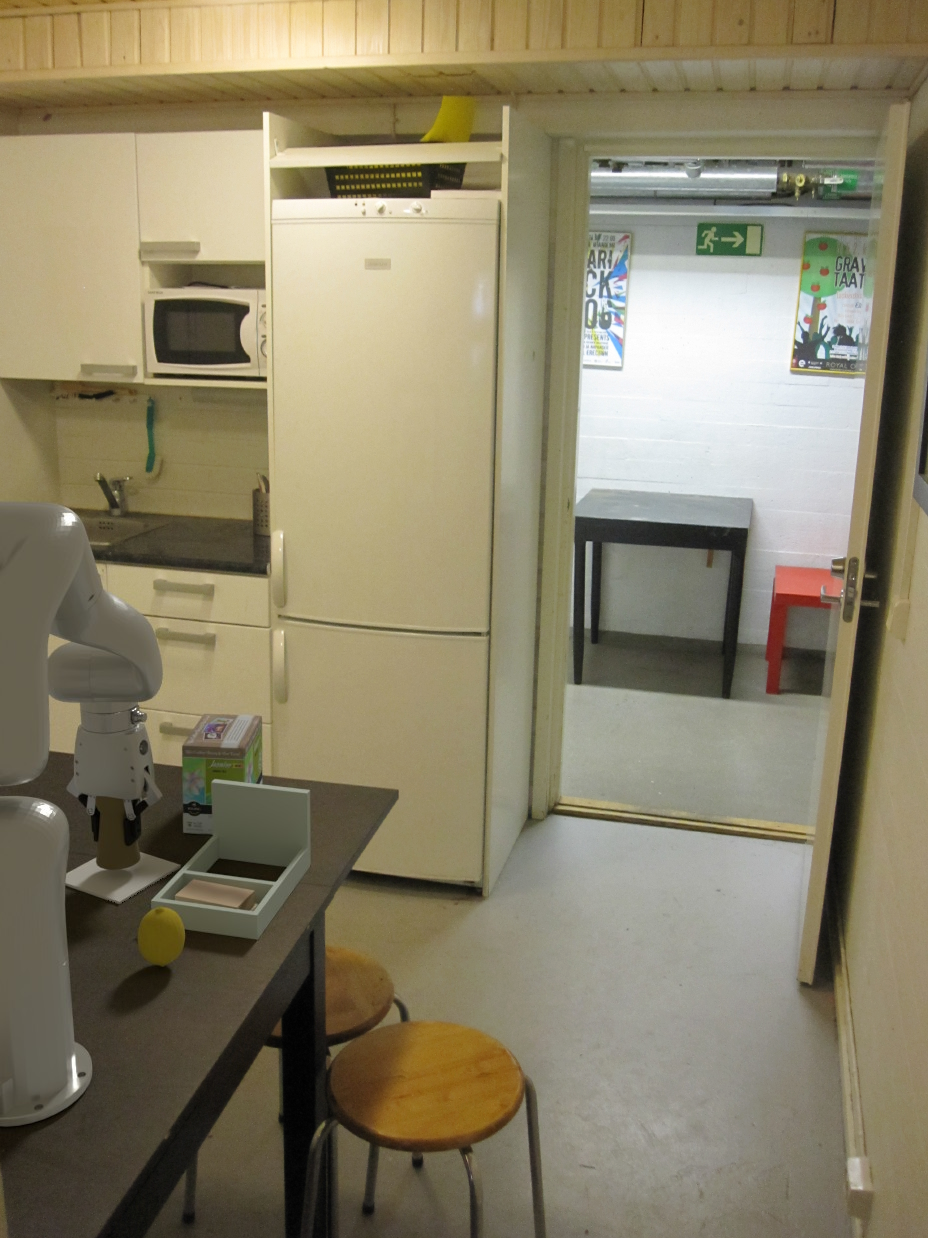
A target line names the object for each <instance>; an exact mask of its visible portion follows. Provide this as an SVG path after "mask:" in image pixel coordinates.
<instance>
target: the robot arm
mask: <svg viewBox="0 0 928 1238" xmlns="http://www.w3.org/2000/svg"><path fill="white" fill-rule="evenodd" d="M95 560H96V559H95V556H94V553H93V550H92V546H91V544H90V540H89V536H88V534H87V530H86V528H85V525H84V523H83V521H82V519H81V518H80V516H79V515H78V514H77V513H76V512H74V511H73V510H72V509H70V507H66V506H64V505H61V504H59V503H56V502H55V503H53V502H44V501H6V500H5V501H3V500H2V501H1V500H0V787H4V786H5V787H8V786H9V787H10V786H18V785H22V784H26V783H29V782H32V781H33V780H35V779H37V778H38V777H39V776H40V775H41V774H42V773H43V772H44V770H45V768H46V766H47V764H48V760H49V755H50V742H51V741H50V740H51V730H50V725H51V724H50V723H51V722H50V697H51V698H52V699H54V700H56V701H59V702H62V703H70V704H74V703H75V704H77V703H78V704H79V710H80V711H79V712H80V723H81V724H79V725H78V726H77V731H76V735H75V736H76V737H75V741H74V754H73V777H72V778H71V780H70V782H68V784H67V786H66V791H67V792H68V793H69V794H70V795H72V796H74V797H75V798H77V799H78V801H79V802H80V804H81V805H82V806H84V808H85V810H86V813H87V815H89V816H90V820H91V821H90V822H91V823H90V824H91V826H90V827H91V832H92V834H93V842H97V843H98V838H99V820H100V811H99V810H98V809H97V807H96V803H95V799H96V796H106V797H112V798H117V799H123V802H124V807H125V811H126V815H127V818H126V819H125V820H124V822H123V824H124V841H125V844H126V846H131V845H132V844H133V843H134V842H135V841H136V840H137V841H138V840H139V839H140V837H141V835H142V815H141V814H142V813H143V812H144V811H145V810H146V809H148V808H149V807H151V806H153V805H155V804H157V803H159V801H161V799H163V794H162V791H161V790H160V789H159V788H158V785H157V784H156V779H155V778H156V777H155V776H156V775H155V765H154V758H153V751H152V746H151V741H150V738H149V734H148V730H147V728H146V727H147V726H146V724H144V723H146V722H147V720H148V714H147V713H146V712H143V711H141V710H140V704H139V703H143V702H147V701H150V700H152V699H153V698H154V697H156V695H158V693H159V691H160V689H161V687H162V684H163V679H164V677H163V675H164V673H163V672H164V669H163V661H162V656H161V651H160V648H159V643H158V640H157V636H156V633H155V630H154V628H153V626H152V624H151V623H150V621H149V620H148V619H147V618H146V616H144V614H142V613H141V612H140V611H139V610H137V609H136V608H135V607H134V606H132V605H131V604H129V603H128V602H126V601H125V600H123V599H122V598H120V597H119V596H117V595H115V594H114V593H112V592H110V591H108V590H106V589H105V588H104V587H103V582H102V579H101V578H100V574H99V570H98V568H97V563H96V561H95ZM50 635H52V636H54V637H57V638H59V639H63V640H65V641H68V642H66V643H64V644H62V645H60V646H58V647H57V648H56V649H54V650H53V651H52V652H51V653H50V655H49V653H48V652H49V649H48V648H49V646H48V645H49V637H50ZM48 655H49V656H48ZM143 791H144V792H145V794H146V797H144V798H142V795H143ZM133 800H134V802H133ZM70 836H71V835H70V825H69V821H68V818H67V816H66V814H65V813H64V811H63V810H62V808H60V807H59V806H58V805H56V804H55V803H53V802H51V801H49V800H45V799H42V798H38V797H33V796H32V797H31V796H22V795H21V796H20V795H8V796H7V795H5V796H4V795H3V796H2V795H0V1127H15V1126H16V1127H17V1126H18V1127H19V1126H23V1125H28V1124H29V1125H30V1124H33V1123H36V1122H39V1121H42V1120H45V1119H47V1118H50V1117H51V1116H54V1115H56V1114H58V1113H60V1112H61V1111H63V1110H65V1109H67V1108H68V1107H69V1106H71V1105H72V1104H73V1103H74V1102H76V1101H77V1100H78V1099H79V1098H80V1097H81V1096H82V1095H83V1094H84V1093H85V1092H86V1091H87V1088H88V1086H89V1085H90V1083H91V1080H92V1077H93V1063H92V1062H93V1061H92V1057H91V1055H90V1053H89V1051H88V1050H87V1049H86V1048H85V1047H84V1046H83V1045H81V1044H80V1043H78V1042H76V1041H75V1031H74V1018H73V1005H72V1004H73V1003H72V990H71V988H72V987H71V975H70V963H69V961H70V960H69V950H68V949H69V948H68V938H67V936H68V935H67V923H66V922H67V920H66V885H65V882H66V873H67V870H68V869H67V868H68V860H69V851H70Z"/></svg>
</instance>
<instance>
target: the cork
mask: <svg viewBox="0 0 928 1238" xmlns="http://www.w3.org/2000/svg"><path fill="white" fill-rule="evenodd" d="M133 802H134V800H133ZM95 803H96V807H97V809H98V810H99V811H100V820H99V838H98V842H97V846H96V857H95V858H96V864H97V866H99V867H100V868H103V869H107V870H120V869H125V868H128V867H131V866H133V865H135V864H137V863H138V862H139V861H140V858H141V856H140V852H141V851H140V846H139V842H138V839H137V840H136V841H135V842H134V843H133V844H132V845H131V846H126V844H125V841H124V824H123V822H124V820H125V819H126V818H127V815H126V811H125V807H124V802H123V799H117V798H112V797H106V796H96V799H95Z"/></svg>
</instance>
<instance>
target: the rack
mask: <svg viewBox="0 0 928 1238" xmlns="http://www.w3.org/2000/svg"><path fill="white" fill-rule="evenodd" d="M211 793H212V823H213V834H212V836H211V837H210V838H209V839H208V840H207V842H205V844H204V845H202V847H201V848H199V850H198V851H197V852H196V853H195V854H194V855H193V856H192V857H191V858H190V860H188V861H187V862H186V863H185V864H184V866H183V867H181V868H180V869H179V871H177V873H176V874H175V875H174V876H173V877H172V878H171V879H170V880H169V881H168V882H167V883H166V884H165V885H164V887H163V888H162V889H160V891H159V892H158V893H156V895H155V896H154V897H152V899H151V900H150V906H151V910H153V909H155V908H158V907H166V908H170V909H172V910H174V911H175V912H176V913H177V914H178V915H179V916H180V918H181V920H182V923H183V926H184V930H187V931H188V930H189V931H193V932H195V931H196V932H201V933H209V934H215V935H222V936H231V937H237V938H242V939H243V938H244V939H250V940H259V938H260V937H261V936H262V934H263V933H264V932H265V930H266V929H267V928H268V926H269V925H270V923H271V922H272V920H273V919H274V918H275V917H276V915H277V914H278V912H279V910H280V909H281V908H282V907H283V905H284V903H285V902H286V901H287V900H288V898H289V897H290V895H291V894H292V892H293V891H294V890H295V888H296V887H297V885H299V883H300V882H301V880H302V878H304V876H305V875H306V873H307V872H308V871H309V870H310V867H311V865H312V864H311V863H312V862H311V790H310V789H305V788H295V787H288V786H287V787H286V786H279V785H277V786H276V785H271V784H270V785H269V784H263V783H262V784H253V783H245V782H236V781H227V780H219V779H214V780H213V781H212V782H211ZM219 859H220V860H221V859H222V860H229V861H230V860H231V861H238V862H245V863H254V864H260V865H261V864H262V865H267V866H268V865H269V866H276V867H285V869H284V870H283V872H282V873H281V874H280V876H279V877H278V879H277V880H276V881H271V880H263V879H255V878H248V877H239V876H232V875H224V874H217V873H211V872H210V873H209V872H208V871H209V870H210V869H211V867H213V866H214V864H215V863H216V861H218V860H219ZM193 879H195V880H200V881H206V882H211V883H216V884H222V885H227V886H232V887H238V888H243V889H249V890H254V891H255V904H258V906H257V908H256V909H255V910H254V911H247V910H240V909H233V908H226V907H219V906H211V905H204V904H197V903H190V902H183V901H175V895H176V894H177V893H178V892H179V891H181V890H182V889H183V888H184V887H185V886H186V885H188V884H189V883H190V882H191V881H192V880H193ZM151 910H150V911H151Z"/></svg>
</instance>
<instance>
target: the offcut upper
mask: <svg viewBox="0 0 928 1238" xmlns="http://www.w3.org/2000/svg"><path fill="white" fill-rule="evenodd" d="M175 901H183V902H190V903H197V904H204V905H211V906H219V907H226V908H233V909H240V910H247V911H249V910H250V909H251V908H252V907H253V906H254V905H255V891H254V890H249V889H243V888H238V887H232V886H227V885H222V884H216V883H211V882H206V881H200V880H195V879H193V880H192V881H191V882H190V883H189V884H188V885H186V886H185V887H184V888H183V889H182V890H181V891H179V892H178V893H177V894H176V895H175Z"/></svg>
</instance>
